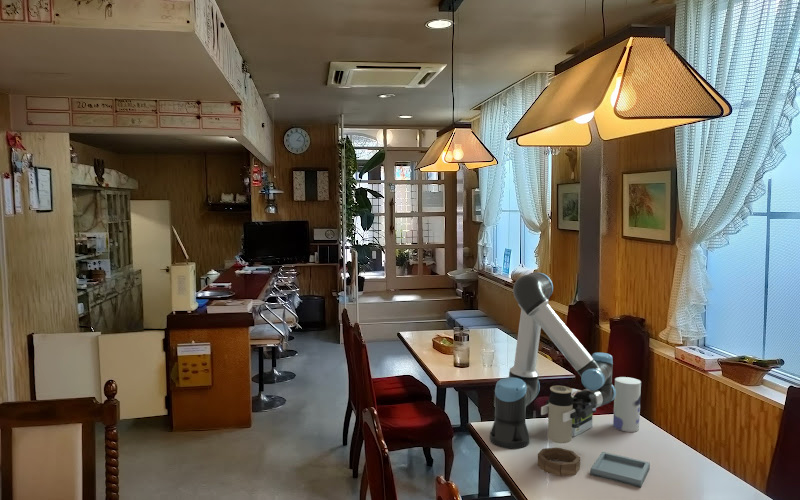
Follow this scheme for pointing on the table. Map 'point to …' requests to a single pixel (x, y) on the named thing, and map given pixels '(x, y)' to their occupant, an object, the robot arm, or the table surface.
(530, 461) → the table surface
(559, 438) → the travel mug
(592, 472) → the tray
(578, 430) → the tea box
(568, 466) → the mug holder
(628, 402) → the container
